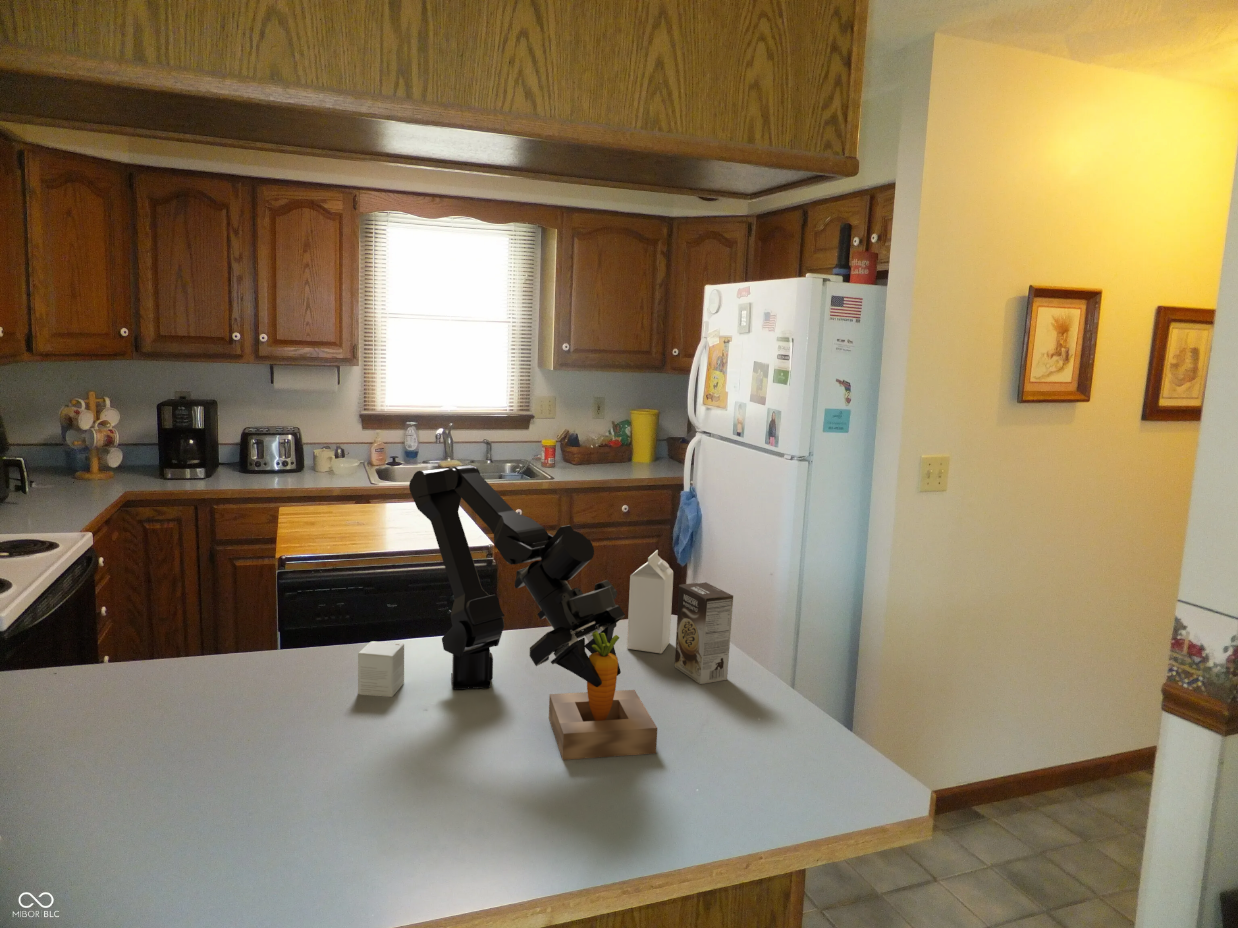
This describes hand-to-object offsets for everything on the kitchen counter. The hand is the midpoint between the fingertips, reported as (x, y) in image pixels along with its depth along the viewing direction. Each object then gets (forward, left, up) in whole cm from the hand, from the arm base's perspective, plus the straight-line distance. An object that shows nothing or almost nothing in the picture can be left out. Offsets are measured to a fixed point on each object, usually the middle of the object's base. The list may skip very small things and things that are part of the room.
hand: (609, 679), depth 130 cm
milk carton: (+17, +38, -9) cm, 42 cm away
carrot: (-1, +1, -8) cm, 8 cm away
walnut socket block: (-1, +1, -9) cm, 9 cm away
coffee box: (+23, +23, -9) cm, 33 cm away
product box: (-34, +23, -9) cm, 42 cm away
